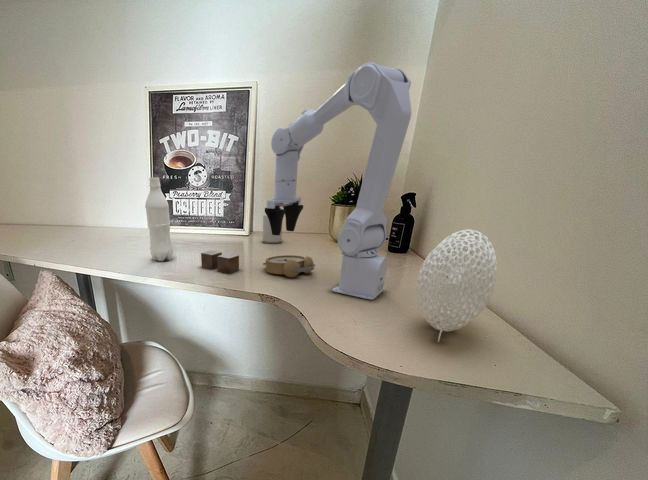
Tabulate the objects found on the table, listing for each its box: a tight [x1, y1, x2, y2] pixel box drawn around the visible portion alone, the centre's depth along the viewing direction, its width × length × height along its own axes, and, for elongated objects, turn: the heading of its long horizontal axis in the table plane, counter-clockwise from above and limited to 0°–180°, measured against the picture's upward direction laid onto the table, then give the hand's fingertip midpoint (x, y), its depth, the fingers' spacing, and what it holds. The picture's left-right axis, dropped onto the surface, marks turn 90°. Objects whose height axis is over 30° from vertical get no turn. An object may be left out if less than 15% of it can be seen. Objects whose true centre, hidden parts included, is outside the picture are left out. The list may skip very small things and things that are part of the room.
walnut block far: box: [200, 250, 223, 271], centre depth 99 cm, size 4×4×4 cm
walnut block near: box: [217, 252, 240, 274], centre depth 96 cm, size 4×4×4 cm
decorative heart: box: [415, 228, 498, 343], centre depth 56 cm, size 18×11×17 cm, turn 141°
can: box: [262, 212, 284, 244], centre depth 130 cm, size 8×8×12 cm
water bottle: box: [144, 176, 174, 262], centre depth 105 cm, size 7×7×25 cm
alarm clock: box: [262, 254, 316, 278], centre depth 93 cm, size 11×5×15 cm
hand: (283, 232), depth 94 cm, fingers open, 7 cm apart
